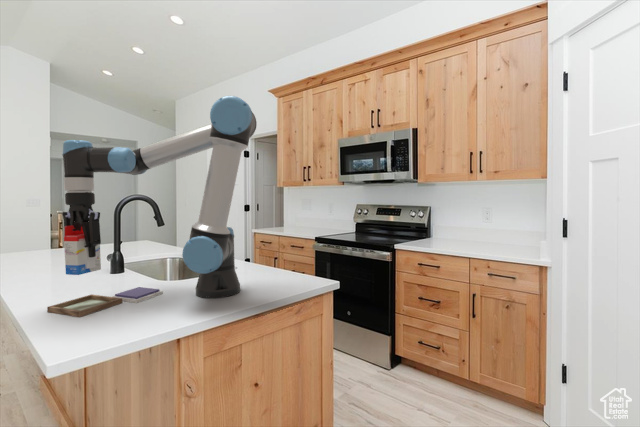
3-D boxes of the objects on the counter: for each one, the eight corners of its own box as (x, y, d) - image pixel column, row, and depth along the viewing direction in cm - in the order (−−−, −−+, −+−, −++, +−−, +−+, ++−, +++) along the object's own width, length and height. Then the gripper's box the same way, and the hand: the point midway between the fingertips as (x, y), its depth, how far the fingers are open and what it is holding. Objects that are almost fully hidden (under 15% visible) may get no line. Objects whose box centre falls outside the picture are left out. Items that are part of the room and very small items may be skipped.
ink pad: (162, 293, 127) (162, 288, 126) (136, 302, 116) (136, 297, 116) (139, 291, 130) (138, 286, 130) (111, 299, 120) (111, 294, 120)
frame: (122, 302, 117) (122, 298, 116) (79, 317, 103) (79, 312, 103) (91, 298, 122) (91, 294, 121) (47, 311, 109) (47, 307, 108)
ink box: (78, 275, 107) (76, 226, 106) (65, 274, 108) (62, 226, 107) (101, 269, 116) (99, 223, 115) (88, 268, 117) (86, 223, 116)
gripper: (112, 191, 110) (116, 266, 112) (71, 192, 117) (75, 262, 119) (89, 191, 104) (93, 271, 105) (47, 192, 110) (51, 267, 112)
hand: (83, 266), depth 112 cm, fingers closed on ink box, 5 cm apart
